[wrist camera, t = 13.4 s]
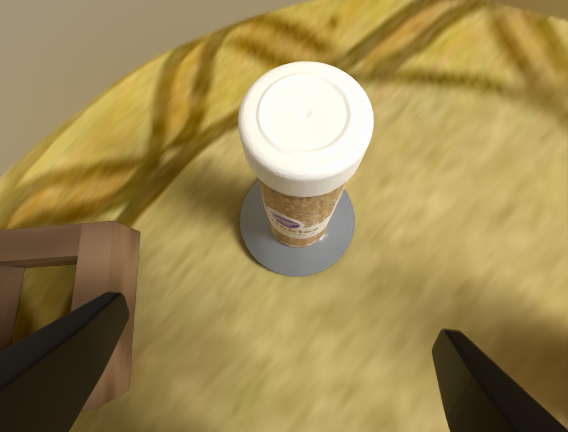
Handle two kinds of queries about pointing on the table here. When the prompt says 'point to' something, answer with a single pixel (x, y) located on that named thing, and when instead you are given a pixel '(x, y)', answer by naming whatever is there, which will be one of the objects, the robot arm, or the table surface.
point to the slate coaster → (292, 258)
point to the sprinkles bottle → (304, 144)
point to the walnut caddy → (76, 281)
